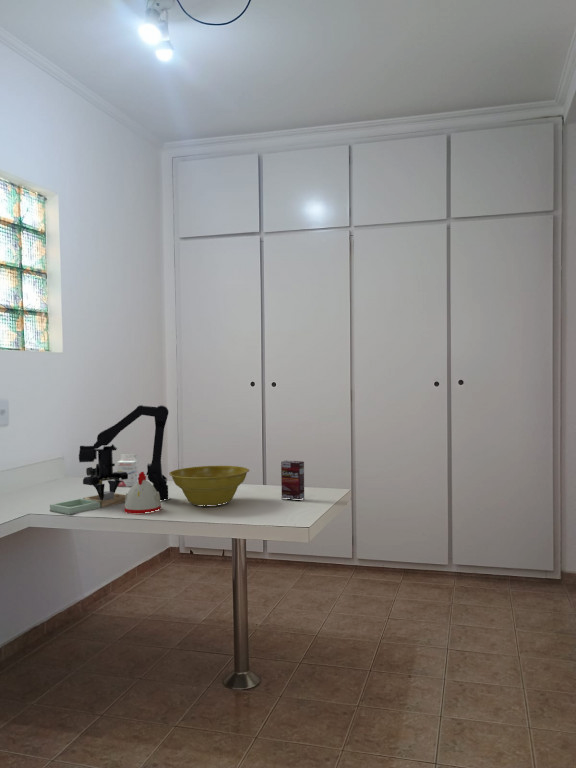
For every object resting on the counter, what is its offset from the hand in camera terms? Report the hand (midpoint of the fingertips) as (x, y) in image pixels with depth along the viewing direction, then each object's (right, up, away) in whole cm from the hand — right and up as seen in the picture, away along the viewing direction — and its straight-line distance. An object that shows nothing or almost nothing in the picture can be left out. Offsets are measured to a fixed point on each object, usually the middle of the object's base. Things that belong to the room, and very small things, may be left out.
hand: (106, 498), depth 274 cm
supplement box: (+77, 0, -1) cm, 77 cm away
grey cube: (0, -1, 0) cm, 1 cm away
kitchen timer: (+18, -2, -15) cm, 24 cm away
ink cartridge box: (-1, -1, +40) cm, 40 cm away
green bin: (-9, -2, -12) cm, 15 cm away
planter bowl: (+44, -1, -6) cm, 44 cm away
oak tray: (0, -2, 0) cm, 2 cm away
